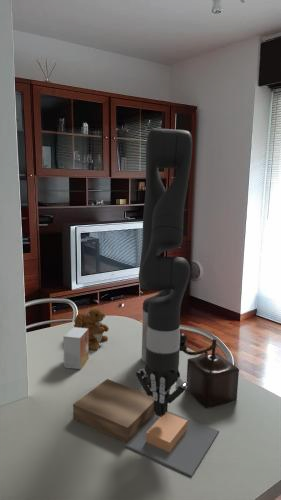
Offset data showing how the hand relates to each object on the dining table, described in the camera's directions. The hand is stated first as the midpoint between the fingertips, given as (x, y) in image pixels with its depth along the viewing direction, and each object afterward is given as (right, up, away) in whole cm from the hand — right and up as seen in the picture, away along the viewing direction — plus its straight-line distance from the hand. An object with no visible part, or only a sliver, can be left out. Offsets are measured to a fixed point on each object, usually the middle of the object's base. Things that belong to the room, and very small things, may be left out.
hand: (160, 414), depth 86 cm
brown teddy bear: (-23, +4, +49) cm, 54 cm away
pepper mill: (+12, -2, +17) cm, 21 cm away
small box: (-25, +2, +33) cm, 42 cm away
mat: (+3, -5, -1) cm, 6 cm away
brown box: (-11, -3, +7) cm, 13 cm away
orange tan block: (+2, -2, -1) cm, 3 cm away
